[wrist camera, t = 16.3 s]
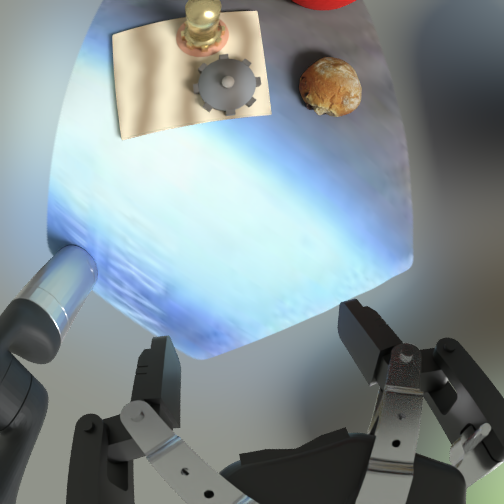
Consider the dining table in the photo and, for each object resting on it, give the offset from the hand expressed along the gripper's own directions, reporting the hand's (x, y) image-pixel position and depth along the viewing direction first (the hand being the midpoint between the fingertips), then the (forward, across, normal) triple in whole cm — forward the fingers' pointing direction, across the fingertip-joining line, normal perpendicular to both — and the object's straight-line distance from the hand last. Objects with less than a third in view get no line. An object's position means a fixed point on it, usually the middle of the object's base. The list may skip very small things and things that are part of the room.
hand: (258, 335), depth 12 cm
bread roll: (+32, -19, -15) cm, 41 cm away
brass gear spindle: (+30, -1, -25) cm, 39 cm away
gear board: (+32, +2, -20) cm, 38 cm away
